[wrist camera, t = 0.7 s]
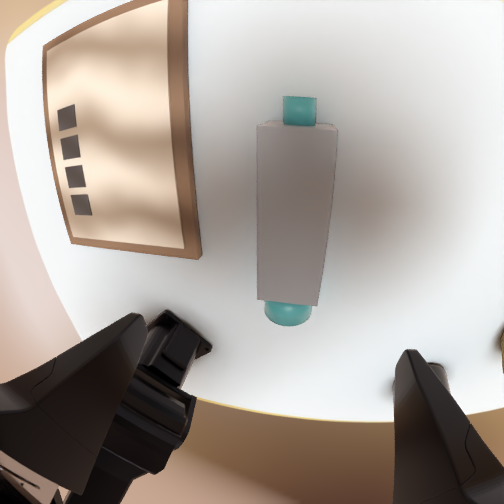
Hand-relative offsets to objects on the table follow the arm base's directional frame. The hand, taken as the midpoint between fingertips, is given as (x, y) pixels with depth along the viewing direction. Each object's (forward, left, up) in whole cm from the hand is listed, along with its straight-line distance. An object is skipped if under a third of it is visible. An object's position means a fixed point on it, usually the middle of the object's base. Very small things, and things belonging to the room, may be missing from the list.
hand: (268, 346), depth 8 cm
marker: (0, 0, -12) cm, 12 cm away
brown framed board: (-6, +15, -12) cm, 20 cm away
